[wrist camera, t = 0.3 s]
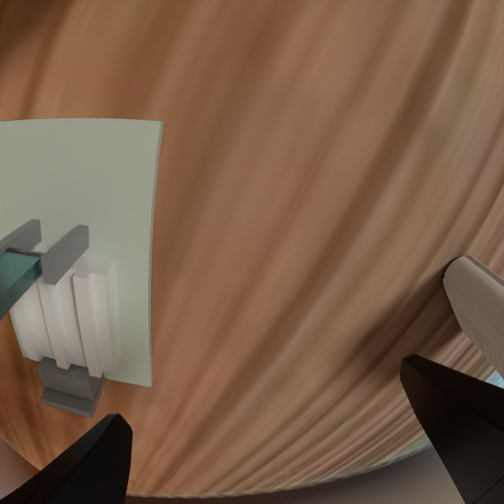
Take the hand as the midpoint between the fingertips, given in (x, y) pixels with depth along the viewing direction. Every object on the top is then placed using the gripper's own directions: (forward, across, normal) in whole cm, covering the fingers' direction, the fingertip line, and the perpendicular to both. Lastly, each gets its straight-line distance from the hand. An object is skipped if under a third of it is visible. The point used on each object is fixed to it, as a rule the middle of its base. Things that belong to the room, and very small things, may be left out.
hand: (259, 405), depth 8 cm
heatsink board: (+14, -14, +1) cm, 20 cm away
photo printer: (+14, +20, -11) cm, 27 cm away
